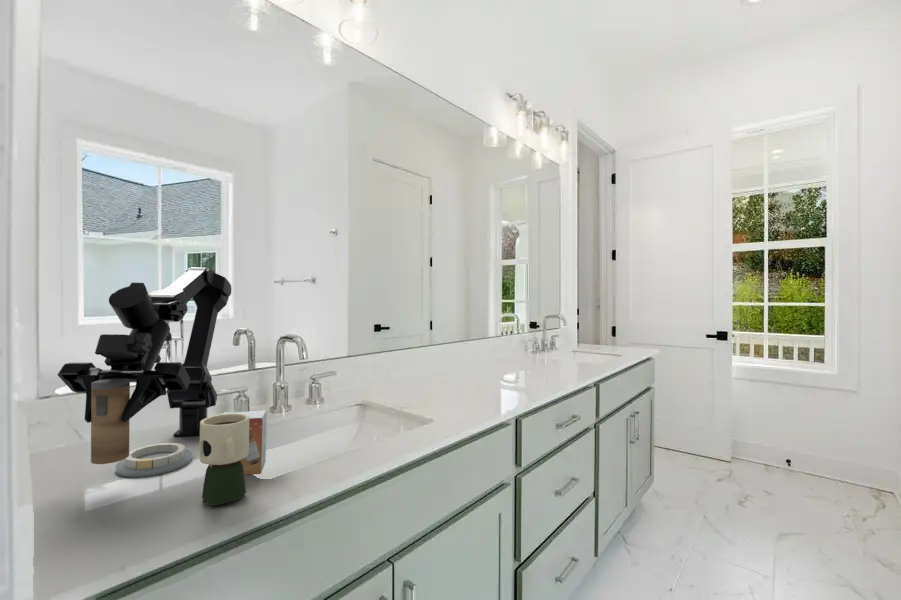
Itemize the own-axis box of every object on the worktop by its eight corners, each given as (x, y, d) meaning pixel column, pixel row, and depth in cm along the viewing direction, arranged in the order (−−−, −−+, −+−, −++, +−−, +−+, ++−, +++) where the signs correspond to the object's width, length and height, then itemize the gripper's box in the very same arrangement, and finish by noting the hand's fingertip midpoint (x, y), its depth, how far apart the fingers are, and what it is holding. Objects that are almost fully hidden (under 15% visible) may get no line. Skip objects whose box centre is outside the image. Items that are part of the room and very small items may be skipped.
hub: (134, 455, 88) (134, 442, 88) (199, 451, 90) (200, 439, 90) (102, 480, 76) (102, 465, 76) (178, 474, 79) (178, 460, 79)
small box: (213, 478, 78) (214, 419, 77) (221, 466, 83) (222, 411, 83) (262, 474, 80) (262, 417, 80) (266, 462, 85) (267, 409, 85)
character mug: (195, 492, 72) (196, 414, 72) (242, 482, 76) (243, 408, 76) (202, 520, 63) (203, 431, 63) (254, 507, 67) (256, 424, 67)
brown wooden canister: (101, 453, 74) (101, 378, 73) (134, 451, 75) (135, 378, 75) (81, 466, 68) (82, 385, 68) (118, 464, 69) (119, 384, 69)
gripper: (66, 315, 74) (10, 395, 63) (183, 317, 77) (149, 393, 66) (96, 355, 82) (51, 431, 71) (201, 355, 85) (173, 428, 74)
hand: (105, 421), depth 70 cm, fingers closed on brown wooden canister, 5 cm apart
